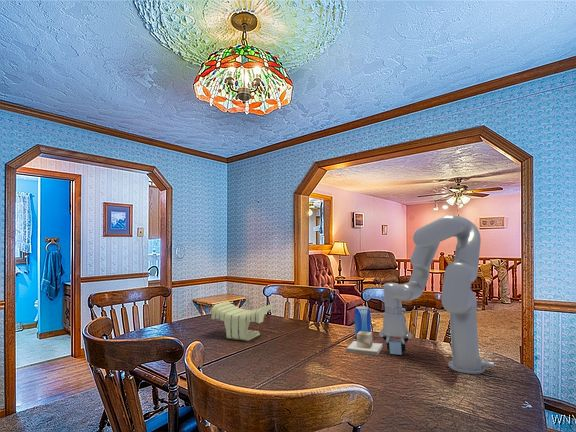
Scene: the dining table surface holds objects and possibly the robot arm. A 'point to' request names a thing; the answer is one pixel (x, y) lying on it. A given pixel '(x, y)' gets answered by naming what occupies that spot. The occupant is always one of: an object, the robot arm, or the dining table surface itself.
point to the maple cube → (364, 339)
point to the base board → (365, 349)
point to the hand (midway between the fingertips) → (396, 351)
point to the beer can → (362, 319)
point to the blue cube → (395, 347)
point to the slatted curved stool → (239, 319)
